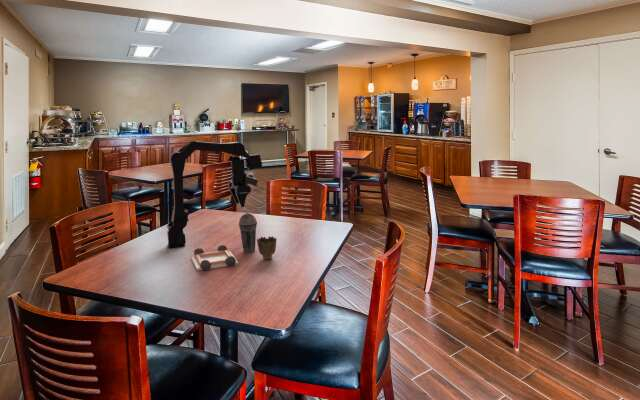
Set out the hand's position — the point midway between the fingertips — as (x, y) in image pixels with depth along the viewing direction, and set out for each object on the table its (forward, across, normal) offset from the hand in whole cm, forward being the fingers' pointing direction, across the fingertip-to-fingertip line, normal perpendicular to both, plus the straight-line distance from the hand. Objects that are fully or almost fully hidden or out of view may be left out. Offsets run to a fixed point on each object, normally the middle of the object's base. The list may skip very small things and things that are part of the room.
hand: (240, 205), depth 187 cm
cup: (+15, -34, -2) cm, 37 cm away
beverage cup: (+15, -22, +2) cm, 27 cm away
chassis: (+15, -28, +17) cm, 36 cm away
